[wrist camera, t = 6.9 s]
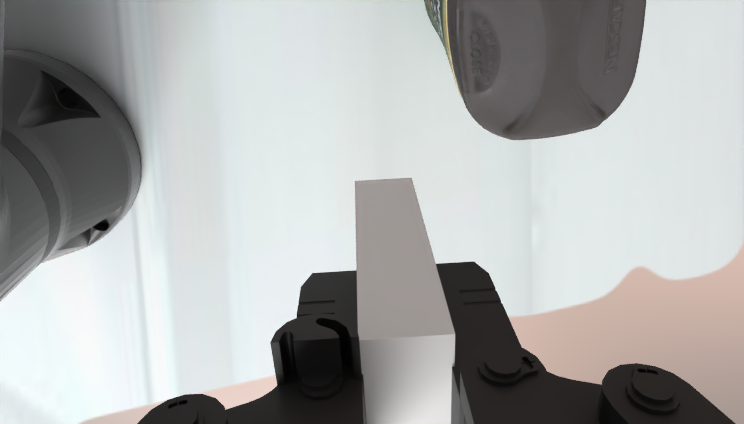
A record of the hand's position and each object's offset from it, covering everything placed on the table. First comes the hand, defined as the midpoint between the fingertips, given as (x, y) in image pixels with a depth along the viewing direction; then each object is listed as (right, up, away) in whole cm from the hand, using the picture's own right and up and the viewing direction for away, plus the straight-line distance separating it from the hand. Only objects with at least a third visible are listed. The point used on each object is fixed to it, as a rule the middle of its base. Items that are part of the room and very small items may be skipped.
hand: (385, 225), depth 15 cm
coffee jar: (+7, +17, +21) cm, 28 cm away
